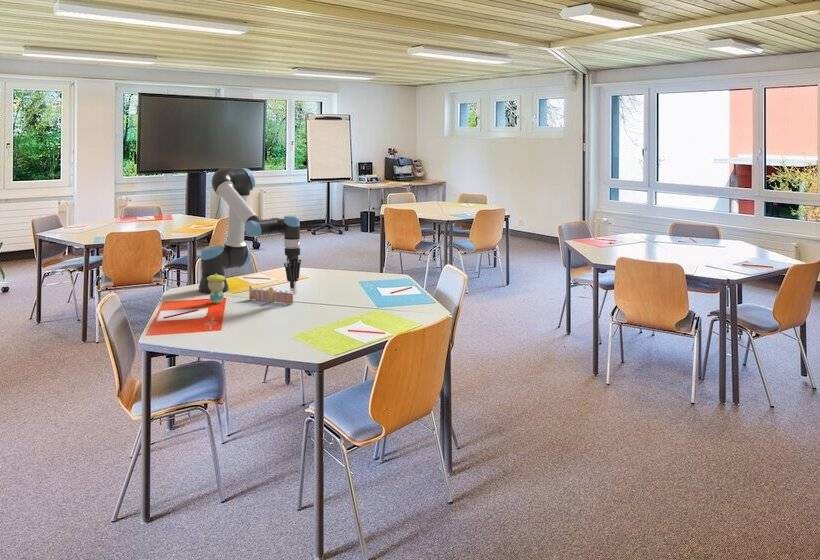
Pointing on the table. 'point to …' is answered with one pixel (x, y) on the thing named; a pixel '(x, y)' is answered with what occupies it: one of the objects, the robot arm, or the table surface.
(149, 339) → the table surface
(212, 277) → the toy
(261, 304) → the card
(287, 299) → the fence wing
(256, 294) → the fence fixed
